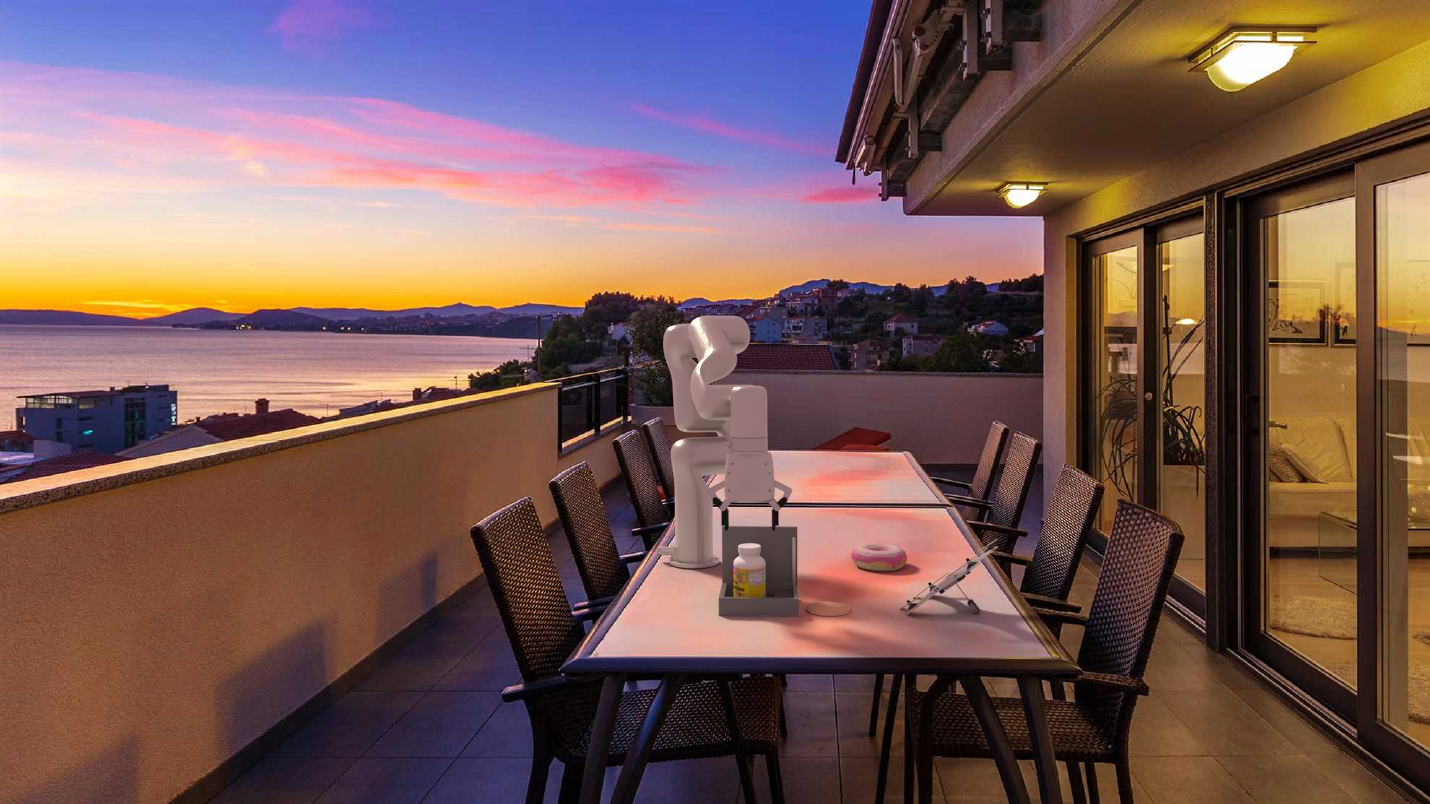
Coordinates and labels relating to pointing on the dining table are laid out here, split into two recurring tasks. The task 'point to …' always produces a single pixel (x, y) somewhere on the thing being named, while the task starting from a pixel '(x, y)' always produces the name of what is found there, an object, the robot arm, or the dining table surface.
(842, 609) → the pad
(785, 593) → the case
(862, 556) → the donut
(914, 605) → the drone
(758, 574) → the supplement bottle
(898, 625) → the dining table surface
